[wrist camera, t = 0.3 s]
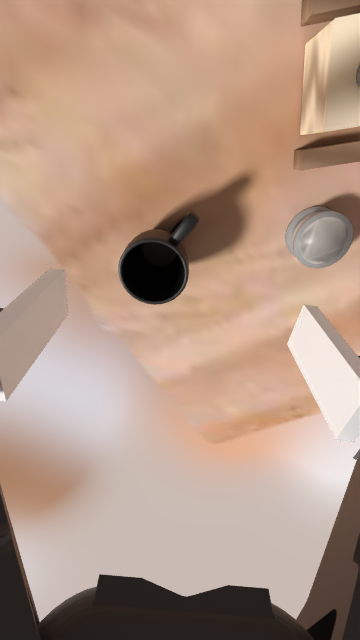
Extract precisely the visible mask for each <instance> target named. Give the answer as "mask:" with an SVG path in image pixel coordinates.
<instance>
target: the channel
mask: <svg viewBox="0 0 360 640" xmlns="http://www.w3.org/2000/svg"><path fill="white" fill-rule="evenodd" d="M358 13H360V0H302V14H301V26H306V25H311V24H316V23H321V22H326V21H331V20H334V19H335V18H338V17H343V16H348V15H353V14H358ZM359 161H360V140H356V141H350V142H344V143H337V144H331V145H325V146H319V147H313V148H306V149H300V150H294V169H297V170H307V169H314V168H320V167H327V166H333V165H339V164H346V163H352V162H359Z"/></svg>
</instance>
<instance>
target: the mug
mask: <svg viewBox="0 0 360 640" xmlns="http://www.w3.org/2000/svg"><path fill="white" fill-rule="evenodd" d="M198 222H199V217H198V215H197V214H196V213H194V212H193V211H191V210H190V211H188V212H186V213H185V214H183V215H182V216H181V217H180V218H178V219H177V220H176V221H175V222H174V223H173V224H172V225H171V226H170V227H169V229H168V230H167V231H165V230H160V229H154V230H148V231H146V232H143V233H141V234H139V235H138V236H136V237H135V238H134V239H133V240H132V241H131V242H130V243H129V244H128V246H127V247H126V249H125V251H124V252H123V254H122V256H121V258H120V262H119V277H120V281H121V283H122V285H123V287H124V288H125V289H126V291H127V292H128V293H129V294H130V295H131V296H132V297H134V298H135V299H137V300H139V301H141V302H144V303H147V304H163V303H166V302H169V301H171V300H173V299H175V298H176V297H177V296H178V295H180V294H181V292H182V291H183V290H184V288H185V286H186V284H187V281H188V275H189V266H188V257H187V254H186V251H185V248H184V247H183V245H182V242H183V241H184V240H185V238H186V237H187V236H188V235H189V234H190V232H191V231H192V230H193V229H194V228H195V226H196V225H197V223H198Z"/></svg>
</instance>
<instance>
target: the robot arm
mask: <svg viewBox="0 0 360 640" xmlns="http://www.w3.org/2000/svg"><path fill="white" fill-rule="evenodd" d="M67 315H68V304H67V288H66V272H65V270H62V269H55V268H50V269H49V270H48V271H46V272H45V273H44V274H43V275H42V276H41V277H40V278H39V279H37V280H36V281H35V282H34V283H33V284H32V285H31V286H29V287H28V288H27V289H26V290H25V291H24V292H23V293H21V294H20V295H19V296H18V297H17V298H16V299H15V300H14V301H12V302H11V303H10V304H9V305H8V306H7V307H6V308H4V309H3V308H0V401H7V399H8V398H9V396H10V395H11V394H12V392H13V391H14V390H15V388H16V387H17V385H18V384H19V382H20V381H21V380H22V378H23V377H24V376H25V374H26V373H27V371H28V370H29V368H30V367H31V366H32V364H33V363H34V362H35V360H36V359H37V357H38V356H39V354H40V353H41V352H42V350H43V349H44V348H45V346H46V345H47V343H48V342H49V341H50V339H51V338H52V336H53V335H54V334H55V332H56V331H57V329H58V328H59V326H60V325H61V324H62V322H63V321H64V320H65V318H66V316H67ZM287 345H288V347H289V349H290V351H291V353H292V355H293V357H294V359H295V361H296V363H297V365H298V366H299V368H300V370H301V372H302V374H303V376H304V378H305V380H306V382H307V384H308V386H309V388H310V390H311V392H312V394H313V396H314V398H315V400H316V402H317V404H318V406H319V408H320V410H321V412H322V414H323V416H324V417H325V419H326V421H327V423H328V425H329V427H330V429H331V431H332V433H333V435H334V437H335V439H336V440H340V441H349V442H354V441H355V440H356V438H357V437H358V436H359V434H360V356H357V354H356V353H355V352H354V351H353V349H352V348H351V347H350V346H349V345H348V343H347V342H346V341H345V340H344V339H343V337H342V336H341V335H340V334H339V332H338V331H337V330H336V329H335V328H334V326H333V325H332V324H331V323H330V321H329V320H328V319H327V318H326V317H325V315H324V314H323V313H322V312H321V310H320V309H319V308H318V307H317V306H311V305H303V308H302V310H301V313H300V315H299V317H298V320H297V322H296V324H295V327H294V329H293V331H292V334H291V336H290V339H289V341H288V343H287ZM353 458H354V459H357V458H358V459H357V461H356V464H355V467H354V470H353V473H352V475H351V478H350V481H349V484H348V487H347V490H346V492H345V495H344V498H343V501H342V504H341V507H340V510H339V512H338V515H337V518H336V521H335V524H334V527H333V529H332V532H331V535H330V538H329V541H328V544H327V546H326V549H325V552H324V555H323V558H322V560H321V563H320V566H319V569H318V572H317V574H316V577H315V580H314V583H313V586H312V589H311V591H310V594H309V597H308V599H307V602H306V604H305V606H304V607H303V609H302V611H301V612H300V614H299V616H298V617H297V619H296V620H295V619H294V618H293V617H291V616H290V615H289V614H288V613H286V612H285V611H284V610H282V609H280V608H279V607H277V606H275V605H274V604H272V603H271V600H270V595H269V590H268V589H265V588H253V587H242V586H230V585H228V586H224V587H221V588H217V589H213V590H210V591H206V592H203V593H199V594H196V595H192V596H188V597H185V596H181V595H178V594H176V593H174V592H172V591H170V590H167V589H165V588H163V587H161V586H158V585H156V584H154V583H152V582H150V581H147V580H145V579H143V578H135V577H122V576H112V575H99V580H98V584H97V587H94V588H91V589H87V590H85V591H82V592H80V593H78V594H76V595H74V596H72V597H70V598H69V599H67V600H65V601H64V602H63V603H61V604H60V605H59V606H57V607H56V608H55V609H53V610H52V611H51V612H50V613H49V614H48V615H47V616H46V617H45V618H44V619H43V620H42V621H41V622H39V618H38V615H37V611H36V608H35V604H34V601H33V597H32V594H31V591H30V588H29V584H28V581H27V578H26V574H25V570H24V567H23V563H22V560H21V556H20V552H19V549H18V545H17V542H16V538H15V535H14V531H13V528H12V524H11V521H10V517H9V513H8V510H7V506H6V503H5V499H4V496H3V492H2V489H1V485H0V640H360V450H359V451H358V452H357V453H356V455H355V456H354V457H353Z"/></svg>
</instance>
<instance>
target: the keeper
mask: <svg viewBox="0 0 360 640" xmlns="http://www.w3.org/2000/svg"><path fill="white" fill-rule="evenodd" d="M358 126H360V13H358V14H353V15H348V16H343V17H338V18H335V19H334V20H333V21H331V22H330V23H329V24H328V25H327V26H326V27H325V28H324V29H322V30H321V31H320V32H319V33H318V34H317V35H316V36H315V37H313V38H312V39H311V40H310V41H309V42H308V43H307V44H306V45H305V61H304V78H303V94H302V111H301V128H300V135H305V134H313V133H321V132H328V131H334V130H340V129H346V128H352V127H358Z"/></svg>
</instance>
